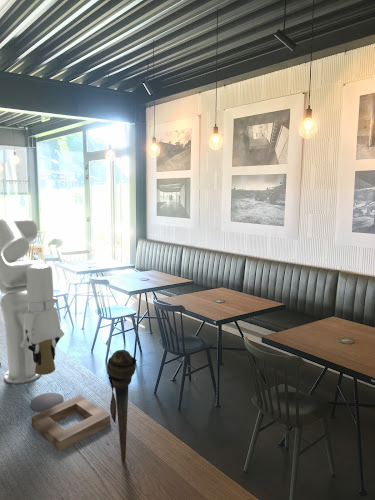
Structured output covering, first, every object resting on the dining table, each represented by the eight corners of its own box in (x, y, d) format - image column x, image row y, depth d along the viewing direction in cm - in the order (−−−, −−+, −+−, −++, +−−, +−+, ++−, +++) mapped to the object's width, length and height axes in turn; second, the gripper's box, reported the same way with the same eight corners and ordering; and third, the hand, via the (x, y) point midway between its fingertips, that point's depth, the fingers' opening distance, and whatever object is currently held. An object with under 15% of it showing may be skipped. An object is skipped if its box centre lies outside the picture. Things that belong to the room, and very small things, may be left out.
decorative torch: (127, 448, 104) (125, 342, 98) (142, 462, 99) (140, 351, 93) (104, 460, 99) (100, 349, 94) (119, 475, 94) (115, 359, 89)
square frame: (31, 426, 113) (31, 416, 113) (80, 403, 125) (79, 394, 124) (60, 451, 102) (59, 441, 102) (110, 424, 114) (110, 415, 114)
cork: (48, 375, 119) (46, 341, 117) (31, 373, 121) (28, 340, 119) (59, 366, 125) (57, 334, 123) (42, 365, 126) (39, 332, 124)
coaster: (24, 403, 125) (24, 401, 124) (53, 391, 132) (53, 389, 132) (39, 415, 118) (39, 414, 118) (69, 402, 125) (69, 400, 125)
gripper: (59, 296, 128) (62, 349, 131) (8, 308, 116) (12, 366, 119) (72, 301, 123) (74, 356, 126) (19, 314, 111) (24, 374, 114)
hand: (44, 360), depth 122 cm, fingers closed on cork, 3 cm apart
